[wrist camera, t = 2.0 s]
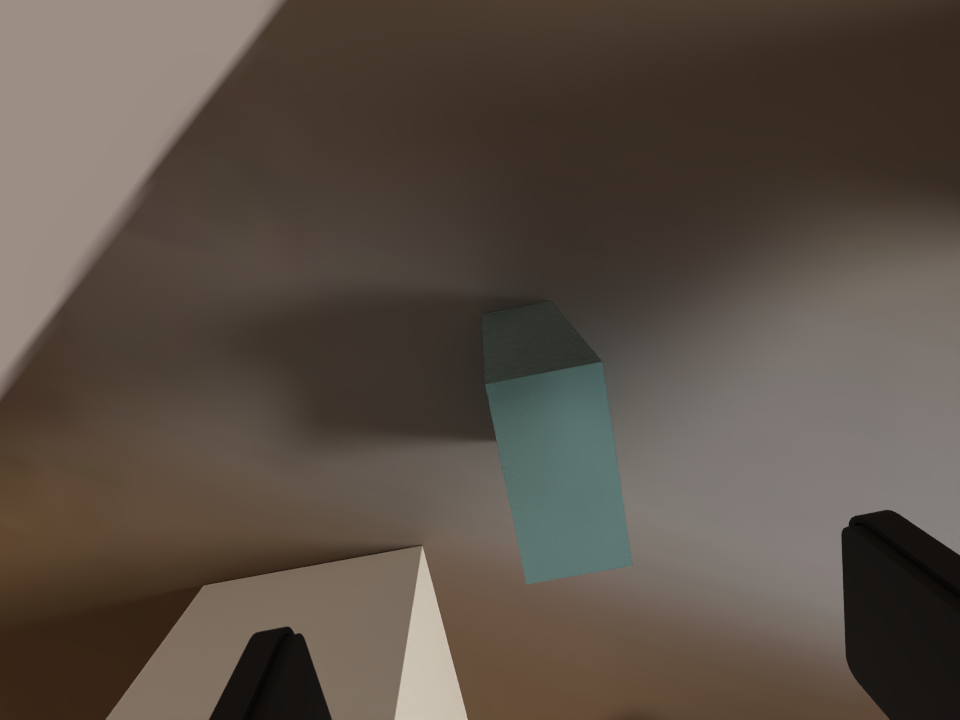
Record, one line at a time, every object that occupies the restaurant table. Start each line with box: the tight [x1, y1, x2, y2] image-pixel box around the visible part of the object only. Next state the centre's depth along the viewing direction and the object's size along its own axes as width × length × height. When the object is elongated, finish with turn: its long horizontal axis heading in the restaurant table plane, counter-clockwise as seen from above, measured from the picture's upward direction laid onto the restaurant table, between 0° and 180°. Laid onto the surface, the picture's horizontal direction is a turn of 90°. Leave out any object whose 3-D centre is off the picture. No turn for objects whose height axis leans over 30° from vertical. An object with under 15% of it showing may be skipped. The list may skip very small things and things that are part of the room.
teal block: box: [481, 301, 632, 584], centre depth 19 cm, size 3×6×10 cm, turn 11°
